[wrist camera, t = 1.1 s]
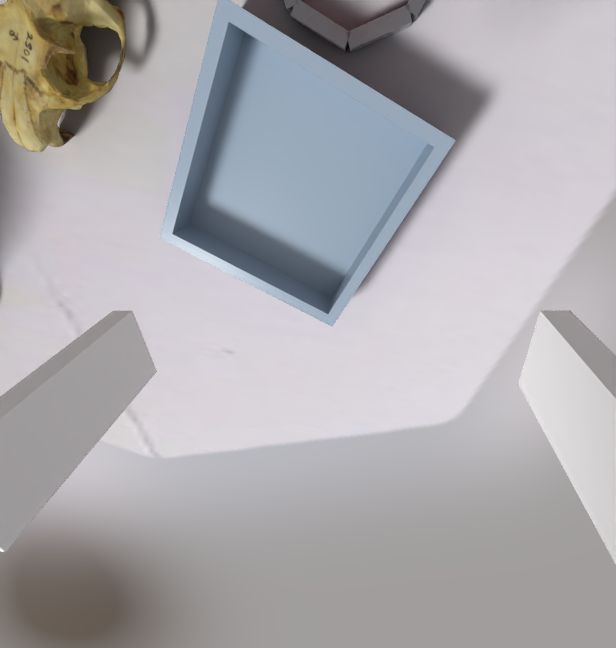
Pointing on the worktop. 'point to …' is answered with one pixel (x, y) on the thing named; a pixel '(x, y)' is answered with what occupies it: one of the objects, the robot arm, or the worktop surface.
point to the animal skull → (49, 65)
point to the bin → (293, 167)
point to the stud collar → (358, 35)
